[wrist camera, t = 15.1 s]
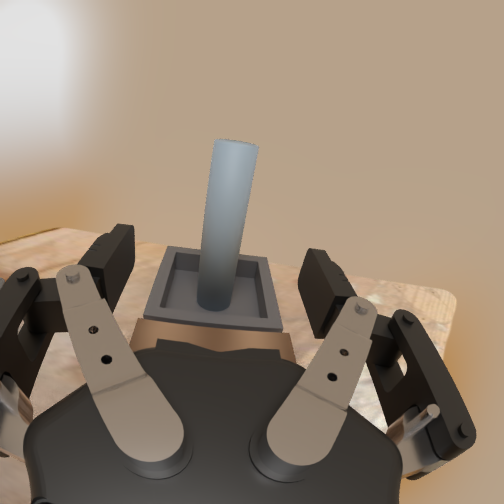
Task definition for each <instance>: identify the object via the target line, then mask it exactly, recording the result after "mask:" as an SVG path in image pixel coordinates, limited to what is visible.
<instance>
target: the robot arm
mask: <svg viewBox="0 0 504 504" xmlns="http://www.w3.org/2000/svg"><path fill="white" fill-rule="evenodd" d="M134 237H135V235H134V226H133V225H126V224H117V225H116V226H115V227H114V229H113V230H112V231H111V232H110V233H105V234H103V235H101V236H100V237H98V238H97V239H96V240H95V242H94V243H93V245H91V247H90V248H89V250H88V251H87V252H86V253H85V254H84V256H83V257H82V258H81V260H80V261H79V262H78V264H77V265H69V266H66V267H64V268H62V269H61V270H60V271H59V272H58V273H57V275H56V278H48V279H40V278H39V274H38V271H37V270H36V269H35V268H32V267H25V268H21V269H18V270H17V271H15V272H14V273H13V274H12V275H11V276H10V277H9V278H8V280H7V281H6V282H5V284H4V285H3V286H2V288H1V289H0V457H4V458H5V457H10V456H11V457H13V458H15V459H17V460H19V461H21V462H23V463H25V464H26V467H27V471H28V476H29V481H30V488H31V504H399V489H400V482H401V479H403V478H407V479H409V480H417V479H419V478H421V477H423V476H425V475H427V474H429V473H430V472H432V471H434V470H436V469H437V468H439V467H441V466H443V465H444V464H446V463H447V462H449V461H451V460H452V459H454V458H456V457H457V456H458V455H460V454H462V453H463V452H465V451H466V450H467V449H469V448H470V447H472V446H473V444H474V443H475V440H476V429H475V427H474V424H473V422H472V419H471V417H470V415H469V412H468V410H467V408H466V406H465V404H464V402H463V399H462V397H461V395H460V393H459V391H458V389H457V387H456V385H455V383H454V381H453V379H452V377H451V375H450V374H449V372H448V370H447V368H446V366H445V364H444V362H443V360H442V359H441V357H440V355H439V353H438V351H437V350H436V348H435V346H434V344H433V343H432V341H431V339H430V338H429V336H428V334H427V333H426V331H425V329H424V328H423V326H422V324H421V323H420V321H419V320H418V318H417V317H416V316H415V315H413V314H412V313H410V312H409V311H406V310H402V309H399V310H396V311H395V313H394V314H393V316H392V318H390V317H386V316H383V315H379V314H377V309H376V307H375V306H374V305H373V304H372V303H371V302H370V301H368V300H366V299H364V298H361V297H358V296H357V294H356V293H355V291H354V289H353V288H352V286H351V284H350V282H348V279H347V277H346V276H345V274H344V272H343V271H342V269H341V268H340V267H339V266H338V265H337V264H336V263H334V262H333V261H331V260H330V258H329V256H328V255H327V253H326V251H325V250H318V249H311V248H309V249H308V251H307V253H306V256H305V259H304V262H303V265H302V268H301V271H300V274H299V277H298V289H299V292H300V295H301V298H302V301H303V304H304V307H305V310H306V313H307V316H308V319H309V322H310V325H311V328H312V331H313V334H314V337H315V339H324V341H323V343H322V345H321V346H320V348H319V350H318V351H317V353H316V354H315V356H314V358H313V359H312V361H311V363H310V364H309V366H308V367H307V369H305V368H303V367H302V366H300V365H298V364H296V363H294V362H291V361H289V360H286V359H282V358H281V355H280V350H279V349H260V348H247V349H239V350H232V351H224V352H218V351H214V350H210V349H207V348H204V347H201V346H197V345H194V344H191V343H188V342H181V341H173V340H166V339H159V338H157V342H156V347H151V348H145V349H141V350H137V351H134V352H133V351H132V350H131V348H130V346H129V344H128V343H127V341H126V339H125V337H124V335H123V333H122V332H121V330H120V328H119V326H118V324H117V322H116V320H115V318H114V316H113V312H114V309H115V307H116V305H117V302H118V300H119V298H120V296H121V293H122V291H123V289H124V287H125V285H126V283H127V280H128V278H129V276H130V274H131V272H132V270H133V267H134V263H135V238H134ZM22 320H23V321H24V324H23V326H22V328H21V330H20V332H19V334H18V328H19V325H20V323H21V322H22ZM55 332H69V335H70V338H71V341H72V344H73V347H74V350H75V353H76V356H77V359H78V362H79V364H80V367H81V370H82V372H83V375H84V377H85V380H86V382H87V383H85V384H84V385H82V386H81V387H79V388H78V389H77V390H75V391H74V392H72V393H71V394H69V395H68V396H66V397H65V398H63V399H62V400H61V401H59V402H58V403H56V404H55V405H53V406H52V407H50V408H49V409H47V410H46V411H44V412H43V413H42V414H40V415H39V416H37V417H36V418H35V419H34V420H33V407H32V404H31V402H30V401H29V398H30V395H31V392H32V389H33V386H34V383H35V380H36V377H37V374H38V372H39V369H40V367H41V364H42V361H43V359H44V356H45V354H46V351H47V349H48V347H49V344H50V342H51V340H52V337H53V335H54V333H55ZM401 355H403V357H404V359H405V361H406V363H407V372H406V374H405V376H404V375H403V373H402V371H401V368H400V366H399V364H398V362H397V361H398V359H399V358H400V357H401ZM365 362H366V364H367V367H368V369H369V372H370V375H371V378H372V381H373V383H374V386H375V389H376V392H377V395H378V398H379V401H380V404H381V407H382V410H383V413H384V416H385V419H386V422H387V426H388V429H387V433H386V434H385V433H383V432H382V431H381V430H379V429H378V428H377V427H375V426H374V425H373V424H372V423H370V422H369V421H368V420H367V419H365V418H364V417H363V416H362V415H360V414H359V413H358V412H357V411H355V410H354V409H353V408H352V407H350V406H349V403H350V400H351V398H352V395H353V393H354V390H355V388H356V385H357V383H358V380H359V378H360V375H361V372H362V370H363V367H364V364H365Z"/></svg>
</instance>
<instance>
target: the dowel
mask: <svg viewBox="0 0 504 504" xmlns="http://www.w3.org/2000/svg"><path fill="white" fill-rule="evenodd" d="M258 149H259V147H258V146H257V145H255V144H251V143H247V142H242V141H236V140H227V139H216V140H215V141H214V147H213V154H212V162H211V168H210V175H209V183H208V190H207V198H206V206H205V214H204V224H203V233H202V243H201V252H200V263H199V274H198V286H197V303H198V304H199V306H200V307H202V308H203V309H205V310H208V311H213V312H218V311H223V310H225V309H227V308H228V307H229V306H230V303H231V297H232V291H233V285H234V280H235V274H236V268H237V263H238V257H239V251H240V246H241V239H242V235H243V229H244V224H245V218H246V213H247V207H248V202H249V196H250V191H251V185H252V180H253V174H254V170H255V165H256V159H257V154H258Z"/></svg>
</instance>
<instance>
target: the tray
mask: <svg viewBox="0 0 504 504" xmlns="http://www.w3.org/2000/svg"><path fill="white" fill-rule="evenodd" d="M200 252H201V250H198V249H190V248H182V247H173V246H168V247H167V249H166V252H165V254H164V257H163V260H162V262H161V265H160V268H159V270H158V273H157V276H156V279H155V281H154V284H153V287H152V290H151V293H150V296H149V299H148V302H147V305H146V308H145V311H144V314H143V317H144V319H147V320H154V321H161V322H168V323H176V324H184V325H192V326H201V327H211V328H221V329H232V330H245V331H259V332H277V333H282V331H283V325H282V321H281V317H280V312H279V308H278V303H277V299H276V295H275V290H274V286H273V282H272V278H271V273H270V269H269V265H268V261H267V258H266V257H258V256H249V255H241V254H239V257H238V263H237V268H236V274H235V280H234V285H233V291H232V297H231V303H230V306H229V307H228V308H227V309H225V310H223V311H218V312H213V311H208V310H205V309H203V308H202V307H200V306H199V304H198V303H197V286H198V274H199V263H200Z"/></svg>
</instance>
